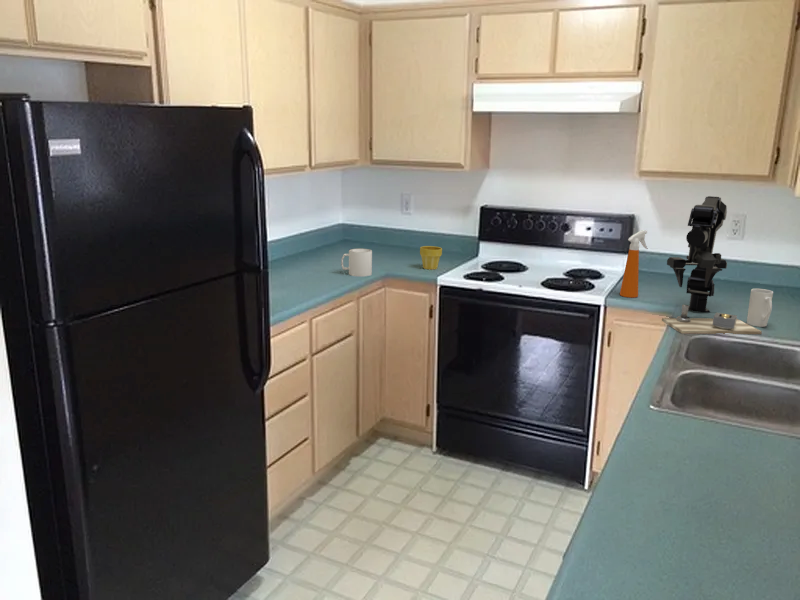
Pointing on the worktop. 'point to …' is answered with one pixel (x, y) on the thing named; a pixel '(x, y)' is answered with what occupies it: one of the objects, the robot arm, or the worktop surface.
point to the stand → (684, 314)
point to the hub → (724, 327)
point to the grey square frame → (724, 320)
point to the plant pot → (430, 256)
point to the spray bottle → (632, 266)
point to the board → (708, 327)
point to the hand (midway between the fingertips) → (693, 287)
